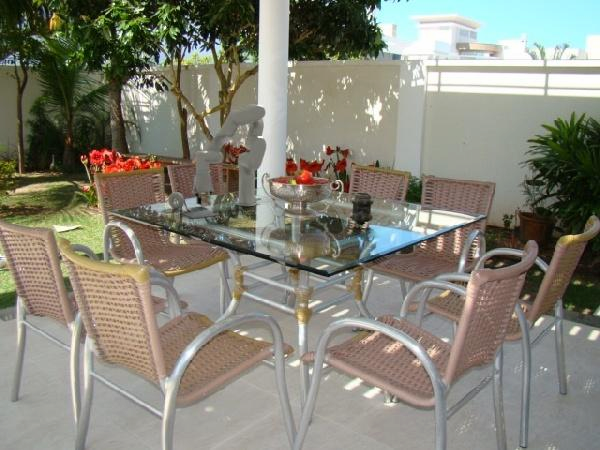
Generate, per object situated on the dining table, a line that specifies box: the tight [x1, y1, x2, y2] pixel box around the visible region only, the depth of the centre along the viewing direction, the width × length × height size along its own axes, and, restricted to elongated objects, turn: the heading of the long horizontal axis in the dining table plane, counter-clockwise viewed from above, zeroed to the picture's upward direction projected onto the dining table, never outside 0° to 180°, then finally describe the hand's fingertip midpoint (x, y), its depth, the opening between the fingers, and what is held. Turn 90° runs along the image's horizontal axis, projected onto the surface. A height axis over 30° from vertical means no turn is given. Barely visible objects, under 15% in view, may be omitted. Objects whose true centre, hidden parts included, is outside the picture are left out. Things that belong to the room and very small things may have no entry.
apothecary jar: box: [349, 191, 374, 225], centre depth 294 cm, size 12×12×18 cm
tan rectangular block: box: [195, 192, 212, 207], centre depth 325 cm, size 4×9×6 cm, turn 38°
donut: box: [168, 191, 185, 210], centre depth 318 cm, size 10×4×10 cm, turn 67°
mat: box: [180, 209, 220, 220], centre depth 307 cm, size 16×14×1 cm
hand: (203, 203), depth 325 cm, fingers closed on tan rectangular block, 4 cm apart
